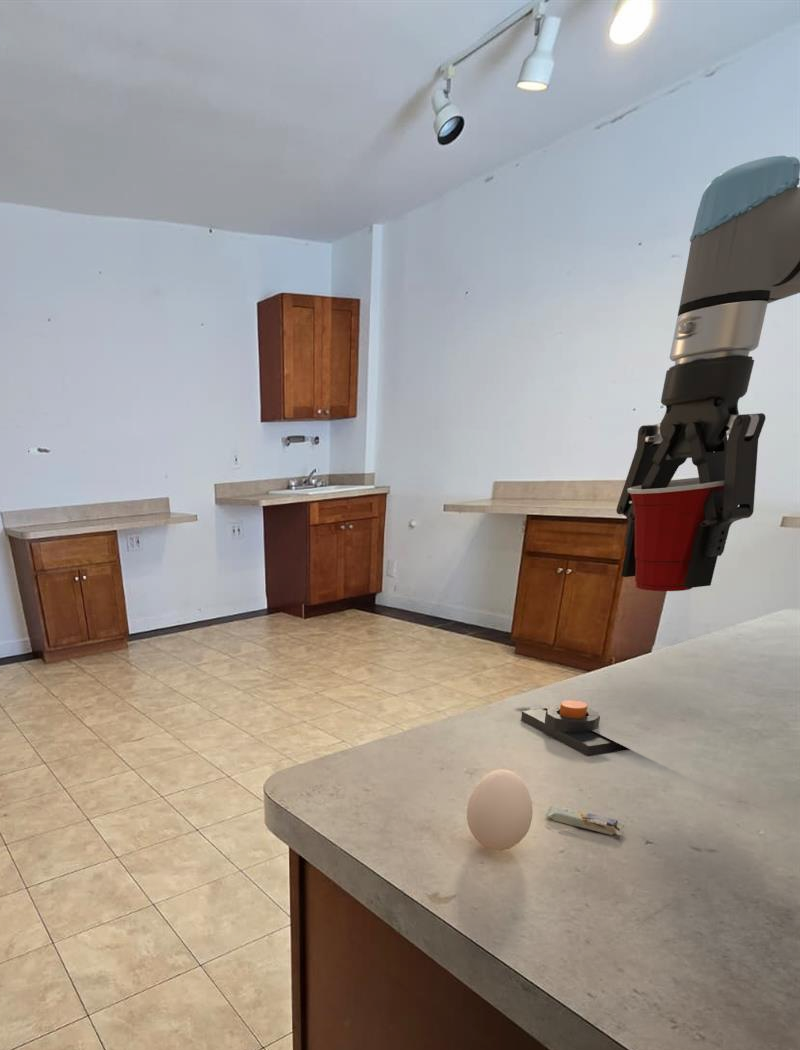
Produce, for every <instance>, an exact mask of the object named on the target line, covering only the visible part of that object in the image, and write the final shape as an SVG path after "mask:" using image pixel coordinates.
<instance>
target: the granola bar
mask: <svg viewBox="0 0 800 1050" xmlns="http://www.w3.org/2000/svg"><path fill="white" fill-rule="evenodd" d="M545 817H547V818H550V819H552V820H553V821H555V822H558V823H562V824H566V825H569V826H572V827H578V828H581V829H585V830H590V831H594V832H598V833H601V834H606V835H611V836H613V834H614V835H617V836H622V834H623V831H624V829H625V828H626V824H623V823H622V822H619V820H618V819H615V818H611V817H607V816H603V815H598V814H596V813H595V814H594V813H591V812H586V811H582V810H577V809H574V808H569V807H564V806H550V807H549V808H548V811H547V812H546V814H545Z"/></svg>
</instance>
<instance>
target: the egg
mask: <svg viewBox="0 0 800 1050" xmlns="http://www.w3.org/2000/svg"><path fill="white" fill-rule="evenodd" d="M533 810H534V809H533V800H532V797H531V794H530V791H529V788H528V787H527V784H526V783H525V782H524V780H523V778H521V777H520V776H519V775H518V774H516V773H515V772H513V771H512V770H509V769H504V768H503V769H495V770H492V771H490V772H488V773H487V774H485V775H484V776H483V777H482V778H481V779H480V780H479V781H478V782H477V784H476V786H474V788H473V790H472V791H471V794H470V796H469V798H468V803H467V808H466V821H467V826H468V829H469V831H470V833H471V834H472V837H473V838H474V839H475V840H476V842H478V843H479V845H481V846H482V847H484V848H486V849H488V850H490V851H491V850H492V851H495V852H497V851H500V852H501V851H506V850H510V849H512V848H513V847H515V846H516V845H518V844H519V843H520V842H521V841H522V840H523V839H524V838H525V837H526V836H527V834H528V833H529V831H530V828H531V825H532V821H533V814H534V813H533Z"/></svg>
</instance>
